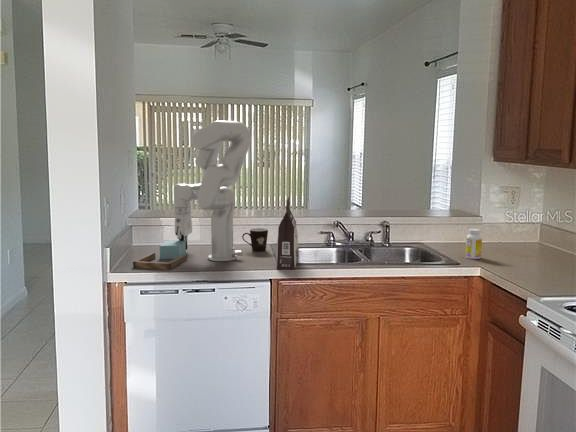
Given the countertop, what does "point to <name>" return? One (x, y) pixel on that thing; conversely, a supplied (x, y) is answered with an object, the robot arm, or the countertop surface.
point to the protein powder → (287, 242)
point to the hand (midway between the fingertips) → (183, 249)
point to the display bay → (146, 264)
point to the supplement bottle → (473, 244)
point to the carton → (172, 249)
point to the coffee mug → (258, 239)
